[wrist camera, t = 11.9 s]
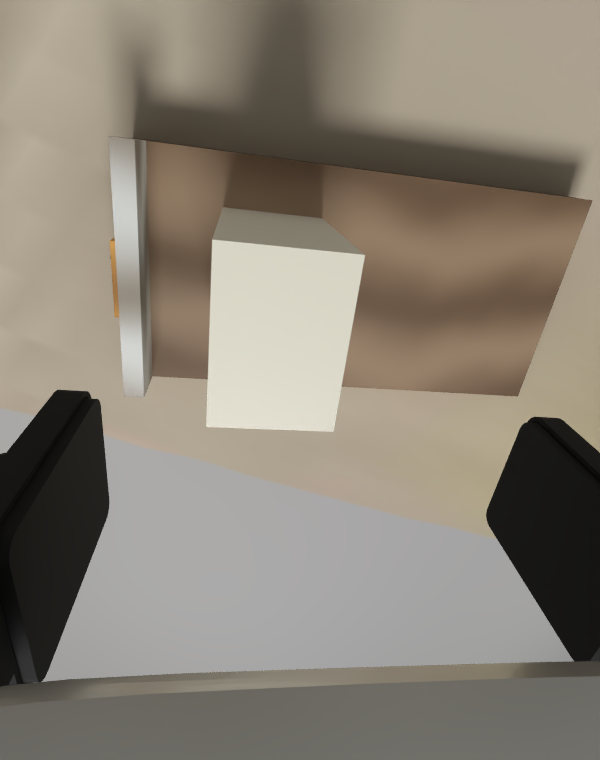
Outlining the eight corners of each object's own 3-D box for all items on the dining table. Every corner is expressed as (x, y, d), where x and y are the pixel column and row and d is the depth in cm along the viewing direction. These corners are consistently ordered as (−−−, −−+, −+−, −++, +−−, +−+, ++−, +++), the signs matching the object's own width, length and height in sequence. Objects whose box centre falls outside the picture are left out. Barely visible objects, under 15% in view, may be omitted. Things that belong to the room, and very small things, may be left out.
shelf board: (126, 137, 22) (100, 135, 18) (568, 197, 26) (627, 205, 22) (135, 360, 27) (118, 396, 23) (502, 382, 31) (540, 416, 27)
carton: (322, 218, 23) (365, 254, 15) (305, 345, 26) (333, 431, 18) (221, 207, 22) (210, 239, 14) (216, 339, 25) (205, 426, 17)
